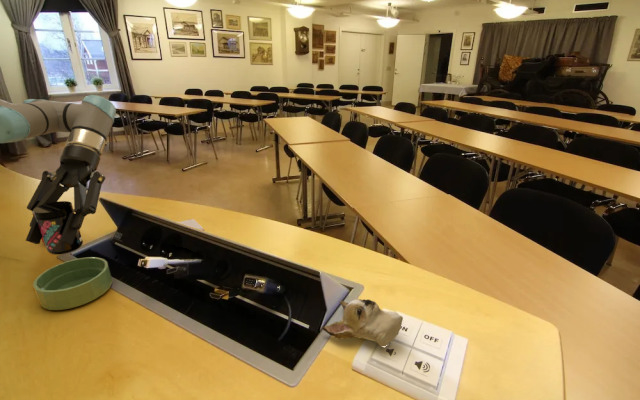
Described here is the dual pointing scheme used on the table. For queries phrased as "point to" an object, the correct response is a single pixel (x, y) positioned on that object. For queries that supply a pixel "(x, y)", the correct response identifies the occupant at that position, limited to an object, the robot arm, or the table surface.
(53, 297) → the bowl
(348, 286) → the table surface
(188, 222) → the charger
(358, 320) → the ceramic sculpture
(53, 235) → the supplement container
